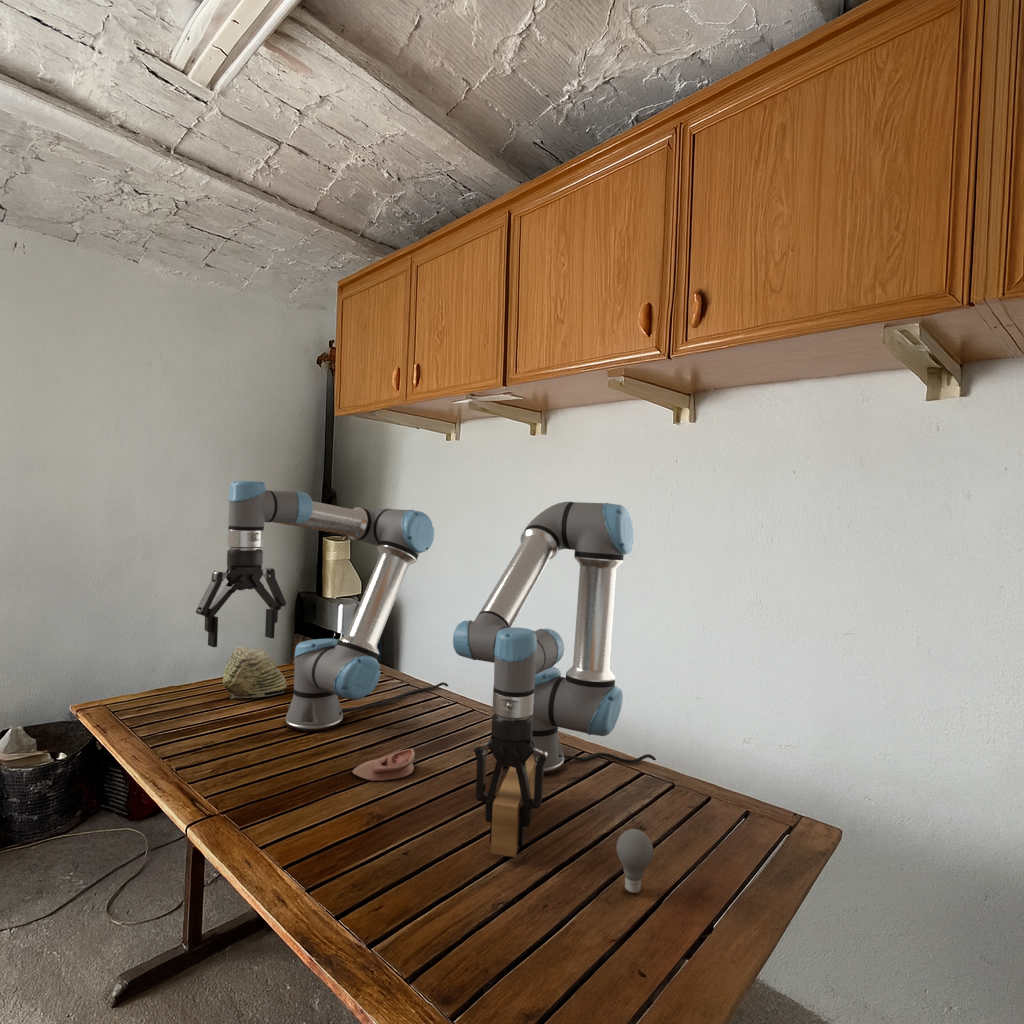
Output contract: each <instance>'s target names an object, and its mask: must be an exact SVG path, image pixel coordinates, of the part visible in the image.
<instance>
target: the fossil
mask: <svg viewBox="0 0 1024 1024" xmlns="http://www.w3.org/2000/svg"><path fill="white" fill-rule="evenodd" d="M222 676H223V677H222V685H223V687H224V688H225V690H226V691H228V693H229V698H230V699H250V698H264V697H271V696H275V695H281V694H284V693H285V691H286V689H287V687H288V686H287V680H286V678H285V676H284V674H283V673H282V672H281V669H279V668H278V667H277V665H276V663H275V662H274V660H273V659H272V658H271V657H270V656H269V655H268V654H267V653H266V652H265V650H264V649H263V648H260V647H258V648H251V647H247V646H246V647H245V646H238V647H237V648H236V649H235V650H233V651H232V653H231V656H230V657H229V659H228V660H227V663H226V666H225V668H224V671H223V675H222Z"/></svg>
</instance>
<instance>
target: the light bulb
mask: <svg viewBox="0 0 1024 1024" xmlns="http://www.w3.org/2000/svg"><path fill="white" fill-rule="evenodd" d="M615 849H616V854H617V857H618V859H619V861H620V863H621V865H622V867H623V873H624V874H623V875H624V876H625V878H624V888H625V890H627V891H628V892H630V893H634V894H635V893H639V892H640V891H641V889H642V887H641V886H642V879H643V877H644V875H645V871H646V868H647V867H648V866H649V864H650V863H651V861H652V859H653V855H654V847H653V843H652V841H651V838H649V836H648V835H647V834H646V833H645V832H643V831H642V830H641V829H636V828H629V829H627V830H625V831H623V832H622V833H621V834H620V835H619V837H618V839H617V841H616V847H615Z"/></svg>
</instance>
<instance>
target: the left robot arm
mask: <svg viewBox="0 0 1024 1024" xmlns="http://www.w3.org/2000/svg"><path fill="white" fill-rule="evenodd" d="M229 486H230V487H229V492H228V527H227V545H226V546H227V547H228V548H229V549H227V551H226V571H219V570H213V571H212V572H211V579H210V582H209V583H208V586H207V588H206V590H205V592H204V594H203V596H202V598H201V599H200V602H199V604H198V606H197V607H196V609H195V613H196V614H197V615H200V616H203V617H204V631H205V632H206V633H207V646H209V647H211V648H218V632H219V631H218V630H219V617H218V616H216V614H218V613H219V611H220V609H221V608H222V607H223V606H224V605H225V604H226V602H227V601H228V600H229V599H230V597H231V596H232V595H233V594H234V593H235V592H237V591H244V590H254V591H255V592H256V593H257V594H258V595H259V597H260V598H261V600H263V601H264V603H265V604H266V605H267V607H268V608H266V609H265V625H264V626H265V627H264V629H265V630H264V637H265V638H268V639H275V627H276V624H277V623H278V621H279V611H280V610H281V609H282V607H286V606H287V601H286V599H285V596H284V594H283V591H282V590H281V587H280V585H279V583H278V579H276V570H275V568H272V567H265V568H264V569H263V568H262V567H263V564H264V551H263V550H262V548H263V547H264V533H265V532H264V531H265V523H274V524H280V525H287V526H291V527H292V526H293V527H298V528H304V529H311V530H315V531H321V532H327V533H332V534H339V535H345V536H347V537H348V538H349V539H350V540H353V541H359V542H363V543H367V544H370V545H373V546H375V547H377V549H378V550H377V551H378V552H379V557H378V559H377V561H376V564H375V566H374V569H373V571H372V573H371V575H370V578H369V581H368V582H367V585H366V588H365V590H364V593H363V595H362V596H361V599H360V602H359V604H358V607H357V608H356V612H355V614H354V617H353V618H352V621H351V624H350V626H349V629H348V631H347V634H346V635H344V636H341V637H340V638H338V639H337V638H317V639H308V640H304V641H300V642H299V643H297V645H296V646H295V650H294V655H293V657H294V672H293V673H294V674H293V695H292V696H293V697H292V699H291V702H290V704H288V705H287V710H288V711H287V713H286V715H285V726H286V728H287V729H289V730H291V731H294V732H295V731H296V732H301V733H316V732H325V731H329V730H332V729H335V728H337V727H339V726H340V725H342V723H343V722H344V714H343V713H344V712H345V713H346V712H352V711H360V710H365V709H371V708H375V707H379V706H383V705H386V704H390V703H391V702H393V701H395V700H398V699H401V698H403V697H406V696H409V695H412V694H415V693H420V692H424V691H430V690H435V689H437V688H439V687H441V686H445V687H449V684H448V683H447V682H440V683H437V684H436V685H432V686H433V687H432V686H428V687H427V686H426V687H422V688H417V689H413V690H409V691H407V692H403V693H401V694H399V695H395V696H393V697H391V698H389V699H385V700H383V701H379V702H375V703H371V704H366V705H360V706H353V707H346V708H342V706H341V702H340V699H339V698H342V699H347V700H353V701H357V700H361V699H364V697H366V696H369V695H370V694H371V693H372V692H373V691H374V690H375V688H376V687H377V685H378V684H379V681H380V677H381V670H380V668H381V665H380V663H379V661H378V659H379V656H380V651H379V649H378V644H379V642H380V638H381V637H382V634H383V632H384V629H385V626H386V624H387V621H388V619H389V616H390V614H391V611H392V609H393V606H394V604H395V601H396V599H397V597H398V594H399V591H400V589H401V586H402V584H403V581H404V579H405V577H406V574H407V572H408V569H409V566H411V565H412V564H415V563H417V560H418V558H419V556H420V554H422V553H425V552H426V551H428V550H429V549H431V547H432V545H433V543H434V539H435V528H434V526H433V521H432V519H431V517H430V516H429V515H427V514H426V513H424V512H423V511H420V510H415V509H397V508H395V509H394V508H367V507H366V508H365V507H359V506H356V507H354V508H349V507H342V506H337V505H334V504H328V503H323V502H320V501H319V502H318V501H314V500H313V499H312V497H311V496H310V495H309V493H308V492H305V491H297V490H269V489H267V488H266V483H265V482H264V481H257V480H256V481H255V480H233V481H232V482H231V483H230V485H229ZM262 577H263V578H265V582H266V583H267V586H268V588H269V590H270V592H269V591H268V590H267V589H266V588H265V585H264V583H262V581H261V579H262ZM225 579H226V580H227V582H226V583H225V584H224V586H223V587H222V589H221V590H220V587H221V585H222V583H223V582H224V581H225ZM219 590H220V592H219ZM218 592H219V593H218ZM270 593H271V594H270ZM217 594H218V595H217Z"/></svg>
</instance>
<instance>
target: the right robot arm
mask: <svg viewBox="0 0 1024 1024" xmlns="http://www.w3.org/2000/svg"><path fill="white" fill-rule="evenodd" d="M631 517H632V516H631V514H630V512H629V511H628V509H627V508H626V507H625V506H624V505H622V504H618V503H617V504H616V503H609V502H578V501H562V502H558V503H555V504H552V505H551V506H548V507H547V508H545V509H544V510H543V511H541V512H540V513H538V514H537V515H536V516H534V518H533V519H532V520H530V522H529V523H528V524H527V526H526V527H525V528H524V530H523V532H522V533H521V535H520V545H519V546H518V548H517V550H515V553H514V555H513V557H512V558H511V560H510V561H509V563H508V565H506V568H505V570H504V571H503V573H502V574H501V576H500V578H499V579H498V581H497V583H496V585H495V586H494V588H493V589H492V591H491V593H490V595H489V596H488V598H487V599H486V601H485V603H484V605H482V607H481V609H480V611H479V613H478V614H477V616H476V617H475V619H474V620H471V619H470V620H463V621H461V622H459V623H458V624H457V625H456V627H455V629H454V631H453V635H452V646H453V649H454V652H455V653H456V655H458V656H460V657H463V658H466V659H469V660H473V661H481V662H486V663H492V664H493V665H494V666H493V689H492V707H491V708H492V709H491V710H492V713H493V714H492V716H491V729H490V731H491V734H490V738H489V741H488V742H485V743H483V742H478V743H477V744H476V746H475V747H474V749H473V751H474V755H475V758H476V783H475V785H476V786H475V787H476V789H475V800H476V801H478V802H483V803H484V805H485V814H484V815H485V817H484V818H485V822H486V823H490V828H489V843H490V844H491V835H492V811H493V803H494V800H495V798H496V796H497V792H498V791H497V790H498V788H499V784H500V780H501V777H502V773H503V769H504V767H505V768H506V769H508V770H509V768H510V766H511V767H513V768H516V773H517V775H518V780H519V786H520V791H521V797H522V802H523V804H522V806H521V808H520V811H519V834H518V847H519V848H523V846H524V842H525V836H526V835H525V834H526V833H525V832H526V828H529V827H530V825H531V822H532V811H533V809H535V810H538V809H540V808H541V805H542V801H543V791H544V789H543V787H544V776H546V775H547V776H548V775H552V774H555V773H557V772H560V771H561V770H562V769H563V768H564V766H565V765H564V764H565V759H566V760H567V759H568V760H574V761H579V762H585V761H589V760H592V759H594V758H597V757H606V758H607V757H608V758H611V759H613V760H616V761H619V762H622V763H625V764H636V763H639V762H642V761H643V760H645V759H651V760H653V761H657V758H656V757H655V756H654V755H653V754H650V753H647V754H643V755H640V756H639V757H637V758H635V759H633V758H632V759H628V758H623V757H620V756H617V755H616V754H615V755H614V754H611V753H607V752H595V753H592V754H590V755H588V756H582V757H581V756H575V755H568V754H564V750H563V747H562V743H561V740H560V736H559V729H560V728H561V729H565V730H570V731H573V732H579V733H583V734H587V735H589V736H597V737H598V736H599V737H606V736H608V735H610V733H612V731H613V730H614V729H615V726H616V725H617V722H618V720H619V718H620V714H621V710H622V706H623V698H624V697H623V696H624V695H623V689H622V688H621V687H620V686H618V685H616V675H614V674H613V672H612V671H611V669H610V667H611V664H610V663H611V652H612V651H611V650H612V634H613V622H614V621H613V620H614V607H615V594H616V593H615V592H616V591H615V590H616V580H617V579H616V577H617V568H618V567H619V566H620V565H622V563H624V556H626V555H629V554H630V553H631V552H632V550H633V545H634V527H633V526H634V525H633V521H632V518H631ZM562 550H570V551H574V556H573V557H574V560H575V561H576V562H577V563H578V564H579V575H578V589H577V603H576V617H575V632H574V643H573V657H572V658H573V661H572V666H571V667H570V668H569V669H568V670H566V671H565V676H562V672H561V669H560V668H557V667H556V666H555V665H556V664H558V663H559V662H560V661H561V660H562V658H563V656H564V654H565V642H564V640H563V638H562V636H561V635H560V634H559V632H557V631H555V630H554V629H551V628H540V629H536V630H533V629H530V628H526V627H516V626H515V627H513V626H514V624H515V622H516V620H517V618H518V616H519V615H520V613H521V611H522V609H523V607H524V606H525V604H526V602H527V601H528V599H529V596H530V594H531V593H532V591H533V589H534V588H535V585H536V584H537V582H538V581H539V578H540V577H541V575H542V573H543V571H544V569H545V567H546V565H547V564H548V562H549V560H551V559H553V558H555V557H556V556H557V554H558V552H559V551H562ZM489 751H490V753H491V754H492V756H493V758H494V759H495V765H494V769H493V773H492V777H491V779H490V784H489V788H488V791H486V789H487V788H486V787H487V786H486V784H487V756H488V754H489ZM532 754H533V755H534V761H535V762H536V763H537V765H536V770H535V788H534V798H533V799H532V798H531V793H530V787H529V782H528V776H527V770H526V761H527V759H528V758H529V757H530V756H531V755H532Z"/></svg>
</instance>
